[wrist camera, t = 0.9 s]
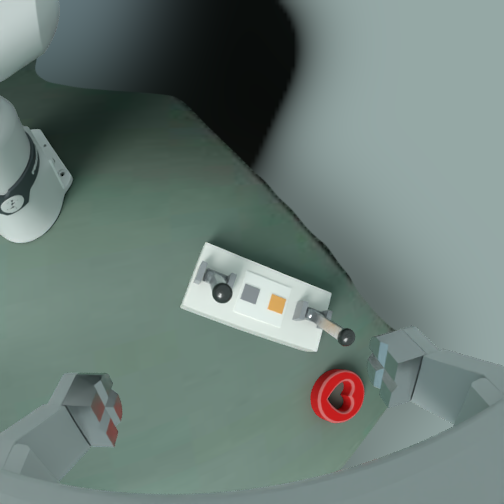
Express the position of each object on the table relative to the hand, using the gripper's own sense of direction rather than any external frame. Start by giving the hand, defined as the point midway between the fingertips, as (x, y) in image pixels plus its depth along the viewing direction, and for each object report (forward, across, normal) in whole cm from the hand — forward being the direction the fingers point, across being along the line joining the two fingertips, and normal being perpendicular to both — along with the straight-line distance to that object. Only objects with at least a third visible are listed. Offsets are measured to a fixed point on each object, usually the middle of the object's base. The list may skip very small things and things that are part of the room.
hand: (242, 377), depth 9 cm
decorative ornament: (+32, -16, +35) cm, 50 cm away
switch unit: (+38, -4, +17) cm, 42 cm away
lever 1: (+34, +2, +11) cm, 36 cm away
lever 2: (+34, -12, +19) cm, 40 cm away
